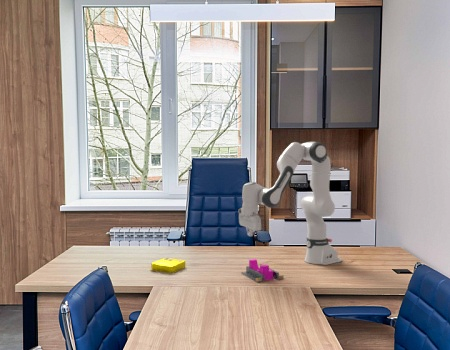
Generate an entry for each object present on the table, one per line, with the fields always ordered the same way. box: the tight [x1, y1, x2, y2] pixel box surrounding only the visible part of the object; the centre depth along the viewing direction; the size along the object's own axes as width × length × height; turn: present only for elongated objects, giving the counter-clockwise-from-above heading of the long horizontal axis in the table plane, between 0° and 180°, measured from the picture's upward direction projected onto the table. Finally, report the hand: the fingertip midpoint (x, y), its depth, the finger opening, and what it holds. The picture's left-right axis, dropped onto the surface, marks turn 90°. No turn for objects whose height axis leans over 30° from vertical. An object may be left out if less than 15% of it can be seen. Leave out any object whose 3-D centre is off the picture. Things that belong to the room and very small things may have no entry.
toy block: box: [248, 258, 274, 281], centre depth 251 cm, size 15×6×8 cm, turn 25°
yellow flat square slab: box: [150, 257, 186, 274], centre depth 266 cm, size 15×15×5 cm
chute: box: [240, 263, 284, 283], centre depth 251 cm, size 16×18×4 cm
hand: (250, 235), depth 263 cm, fingers closed
